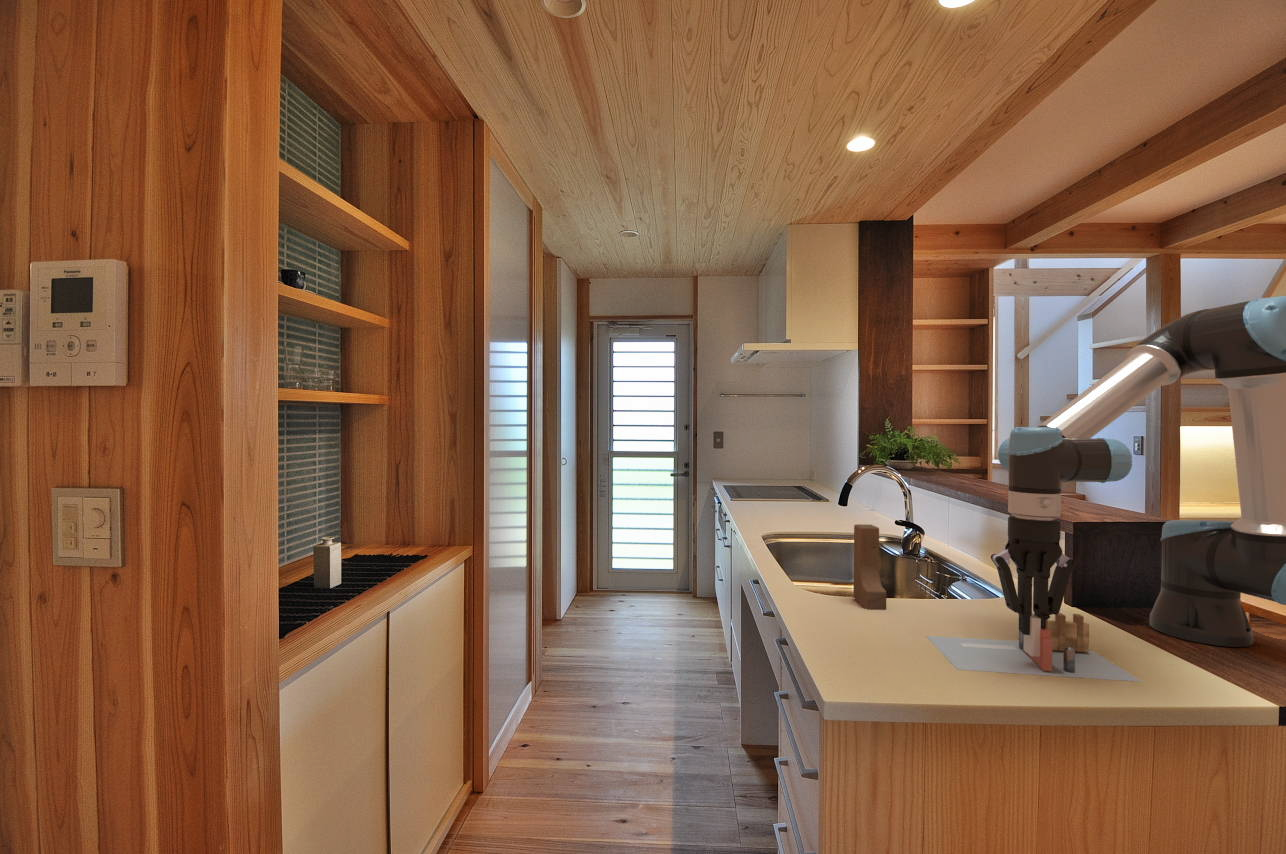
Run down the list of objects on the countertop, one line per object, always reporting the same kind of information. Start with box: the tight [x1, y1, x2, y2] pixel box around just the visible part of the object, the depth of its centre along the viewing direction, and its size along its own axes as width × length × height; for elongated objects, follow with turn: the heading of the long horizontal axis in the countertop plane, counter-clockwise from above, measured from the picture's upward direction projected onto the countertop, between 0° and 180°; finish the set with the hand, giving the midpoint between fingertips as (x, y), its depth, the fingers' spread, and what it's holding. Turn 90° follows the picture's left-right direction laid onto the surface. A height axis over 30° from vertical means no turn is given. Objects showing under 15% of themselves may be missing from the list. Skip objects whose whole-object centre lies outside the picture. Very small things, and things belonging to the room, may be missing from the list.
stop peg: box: [1063, 645, 1075, 673], centre depth 98 cm, size 2×2×4 cm
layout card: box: [925, 635, 1143, 683], centre depth 104 cm, size 28×16×1 cm, turn 82°
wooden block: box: [852, 523, 887, 611], centre depth 135 cm, size 9×4×18 cm, turn 179°
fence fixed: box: [1046, 612, 1090, 652], centre depth 107 cm, size 9×1×6 cm, turn 82°
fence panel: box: [1026, 629, 1052, 671], centre depth 102 cm, size 10×1×6 cm, turn 164°
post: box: [1018, 630, 1024, 650], centre depth 108 cm, size 2×2×8 cm
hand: (1031, 653), depth 100 cm, fingers closed
